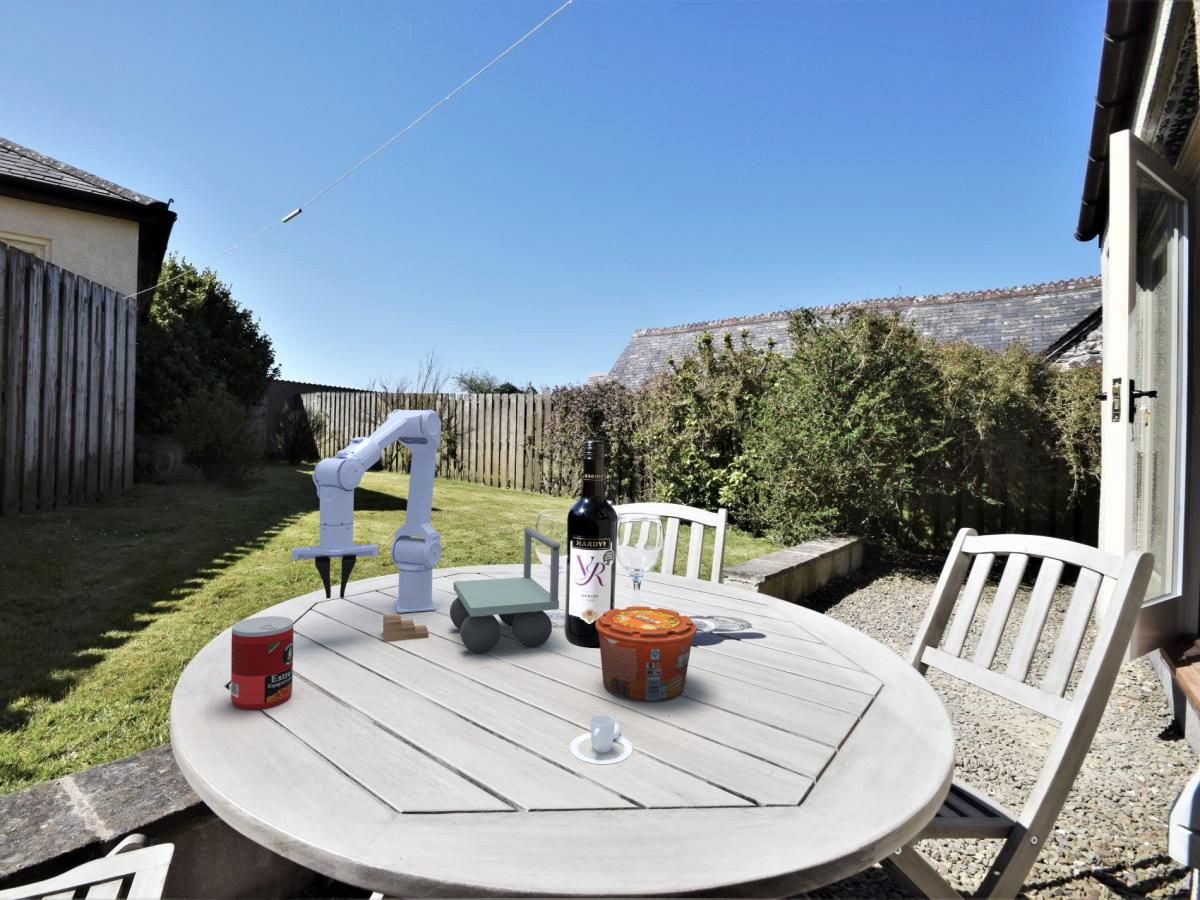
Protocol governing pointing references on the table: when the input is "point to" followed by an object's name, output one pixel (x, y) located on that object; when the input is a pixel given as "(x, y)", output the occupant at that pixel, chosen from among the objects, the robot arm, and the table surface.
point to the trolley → (507, 604)
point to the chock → (402, 629)
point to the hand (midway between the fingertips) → (335, 596)
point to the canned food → (261, 662)
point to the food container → (645, 652)
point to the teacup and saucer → (602, 739)
